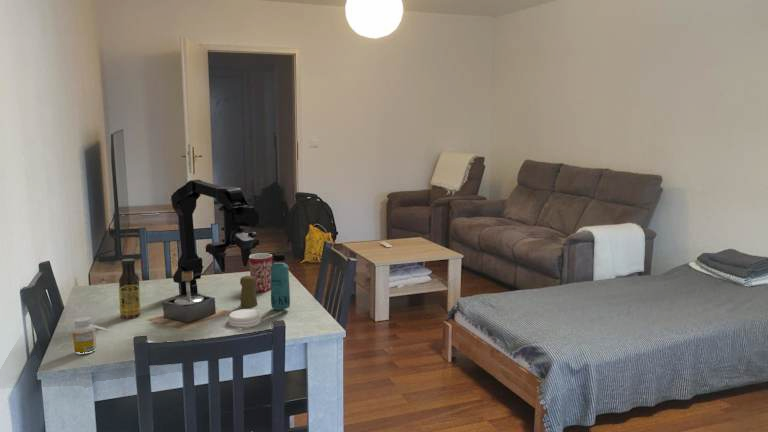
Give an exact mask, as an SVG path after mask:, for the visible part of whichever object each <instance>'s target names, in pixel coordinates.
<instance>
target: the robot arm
mask: <svg viewBox="0 0 768 432" xmlns="http://www.w3.org/2000/svg"><path fill="white" fill-rule="evenodd" d="M201 195H203V196H206V197H209V198H212V199H214V200H216V202H218V203H219V204H220V205H221V206H219V208H218V211H219V212H222V215H223V216H222V218H223V226H222V227H221V231H223V238H222V239H221V242H218V241H217V242H215V241H214V242H210V243H207V244H206V245H205V253H208V254H209V255H212V257H213V259H214V260H215V262H217V264H218V267H219V269H220V270H221V272H223V273H224V272H226V263H225V262H226V261H225V260H226V259H225V257H226V255H227V254H228V253H227V252H226V250H227V249H232V248H235V247H238V248H239V249H240V254H241V260H242V265H243V266H244V267H247V265H248V263H249V256H250V255H252V251H253V250H254V249H257V246H260V238H259V237H258V234H257V232H255V231H251V232H247V233H246V232H245V228H244V227H247V228H255V227H257V226H258V224H259V222H260V215H259V213H258V211H257V210H255V206H250V204H249V201H248V200H247V198H246V196H245V194H244V193H243V191H242V189H241V188H240V187H238V186H220V185H217V184H213V183H210V182H207V181H203V180H201V179H194V180H193V179H192V180H191V179H190V180H188V181H187V182H186V183H185V184H183V186H181V187H180V188H177V190H176V191H174V192H172V194H171V197H170V201H171V205H172V210H174V212H175V213H176V214H177V216H178V219H177V220H178V230H179V231H178V232H179V240H180V241H179V242H180V252H181V253H180V257H179V259H178V261H177V270H176V271H175V272H174V274H173V275H172V281H173V282H174V283H177V284H178V290H179V291H178V293H179V294H177V295H176V297H180V296H183V295H186V294H187V291H186V281H182V272H183V271H193V280H190V293H194V294H199V295H201V293H199V292H198V290H199V289H198V284H197V280H201V278H202V273H203V269H204V266H203V258H202V257H199V255H198V254H197V250H196V242H195V241H196V239H195V229H194V227H195V226H194V217H193V216H194V213H195V210H196V208H197V200H198V199H199V198H200V197H201Z"/></svg>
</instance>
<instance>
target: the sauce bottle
mask: <svg viewBox="0 0 768 432" xmlns="http://www.w3.org/2000/svg"><path fill="white" fill-rule="evenodd" d="M135 264H136V260H135V258H124V259H122V260H121V267H122V271H121V274H120V277H119V279H118V283H119V284H118V285H119V287H118V291H119V292H118V295H119V314H120V319H121V320H132V319H136V318H137V319H138V318H139V317H140V316H141V292H140V291H141V290H140V277H139V276H138V275H137V274H136V273H137V272H136V267H135Z"/></svg>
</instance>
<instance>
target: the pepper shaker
mask: <svg viewBox="0 0 768 432" xmlns="http://www.w3.org/2000/svg"><path fill="white" fill-rule="evenodd" d="M239 284H240V286H241V295H240V308H243V309H253V308H255V307H257V306H258V300H257V294H256V292H255V288H254V284H255V278H254V277H253V276H251V275H244V276H242V277H240V280H239Z"/></svg>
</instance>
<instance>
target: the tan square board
mask: <svg viewBox="0 0 768 432" xmlns="http://www.w3.org/2000/svg"><path fill="white" fill-rule="evenodd" d="M215 308H216V314H213V315H211V316H208V317H205V318H202V319H200V320H197V321H194V322H191V323H189V324H186V323H182V322H178V321H174V320H170V319H166V318H164V312H163V313H160V314H157V315H155V316H151V317H148V318H145V319H144V321H149V322H151V323H152V322H153V323H156V324H160V325H163V326H168V327H171V328H175V329H179V330H184V331H188V330H191V329H194V328H196V327H199V326H201V325H205V324H207V323H209V322H211V321H214V320H217V319H221V318H222V317H225V316H227V315H228V316H229V314H230V313H232V312H233V311H232V310H227V309H221V308H218V307H215Z"/></svg>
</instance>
